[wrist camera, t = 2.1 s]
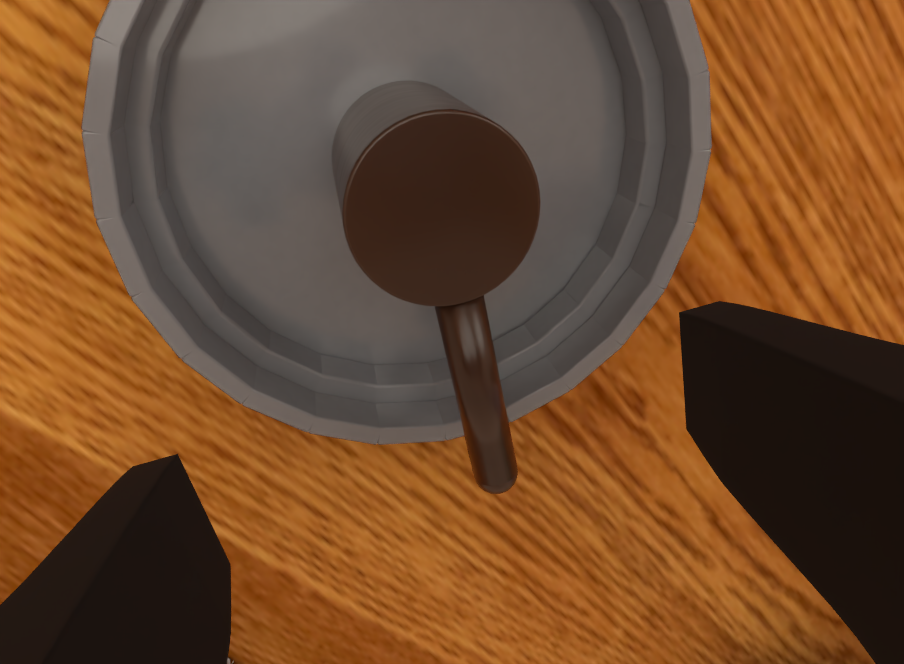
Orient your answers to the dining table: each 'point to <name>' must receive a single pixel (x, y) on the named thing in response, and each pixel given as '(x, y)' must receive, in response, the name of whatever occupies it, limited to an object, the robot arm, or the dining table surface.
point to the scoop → (441, 234)
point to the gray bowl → (317, 207)
